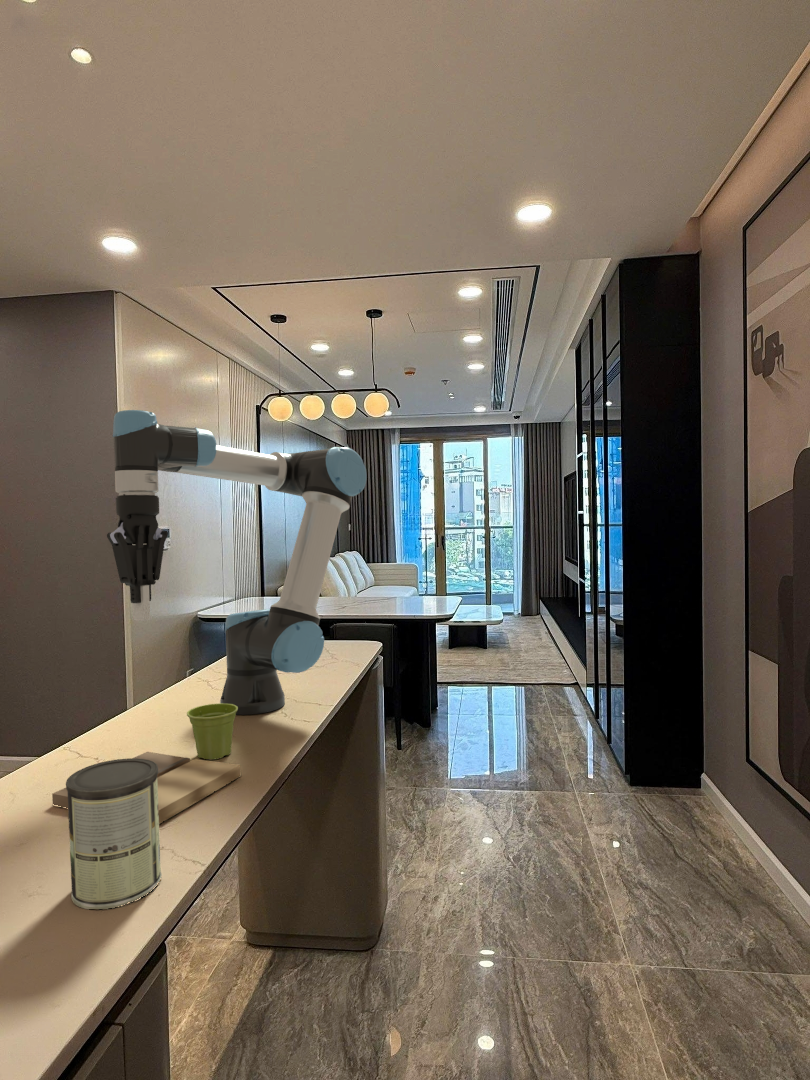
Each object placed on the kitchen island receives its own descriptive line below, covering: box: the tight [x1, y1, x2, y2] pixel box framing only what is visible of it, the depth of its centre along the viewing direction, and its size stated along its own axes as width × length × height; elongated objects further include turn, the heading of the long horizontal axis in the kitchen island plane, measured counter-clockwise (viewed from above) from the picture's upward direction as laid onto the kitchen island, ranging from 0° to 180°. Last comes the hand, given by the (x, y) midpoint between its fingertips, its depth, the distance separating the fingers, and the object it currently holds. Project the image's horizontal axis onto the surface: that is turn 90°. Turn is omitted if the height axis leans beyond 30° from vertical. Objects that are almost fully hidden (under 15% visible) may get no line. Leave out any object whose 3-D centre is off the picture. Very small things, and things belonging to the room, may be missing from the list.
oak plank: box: [157, 758, 242, 825], centre depth 107 cm, size 20×10×2 cm, turn 157°
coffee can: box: [65, 757, 162, 910], centre depth 81 cm, size 10×10×14 cm
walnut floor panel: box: [51, 751, 191, 808], centre depth 112 cm, size 20×10×2 cm, turn 157°
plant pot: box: [186, 702, 238, 760], centre depth 126 cm, size 9×9×9 cm
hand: (141, 619), depth 124 cm, fingers closed
